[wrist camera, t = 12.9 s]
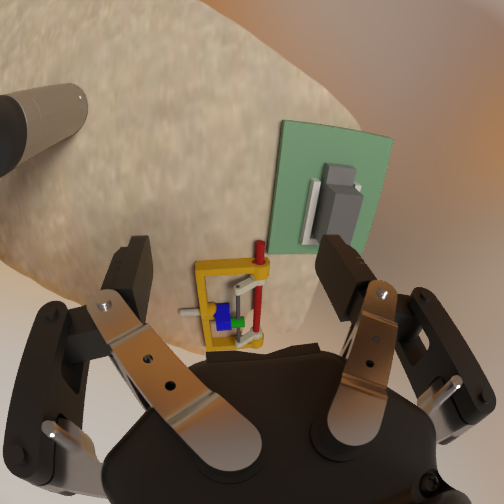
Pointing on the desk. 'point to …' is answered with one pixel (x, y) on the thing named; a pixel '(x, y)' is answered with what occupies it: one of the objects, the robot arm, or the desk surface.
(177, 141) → the desk surface
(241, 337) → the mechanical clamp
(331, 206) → the grey stepped block
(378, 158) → the green plate with u-rail
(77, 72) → the desk surface
